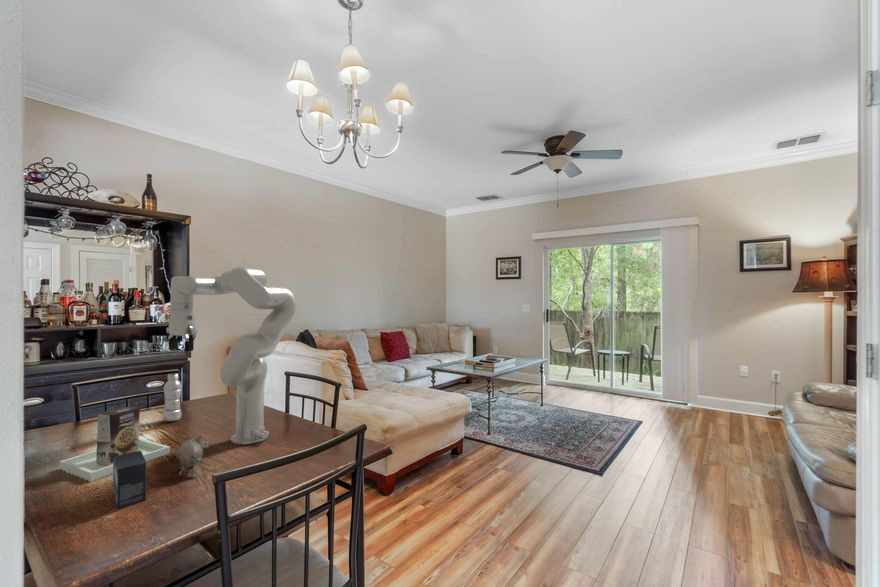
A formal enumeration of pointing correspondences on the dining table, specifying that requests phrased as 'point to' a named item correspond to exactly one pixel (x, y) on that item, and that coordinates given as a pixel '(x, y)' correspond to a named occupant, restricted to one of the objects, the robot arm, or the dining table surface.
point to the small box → (129, 478)
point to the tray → (91, 471)
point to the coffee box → (117, 434)
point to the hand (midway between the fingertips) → (181, 350)
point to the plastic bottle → (172, 398)
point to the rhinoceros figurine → (191, 454)
